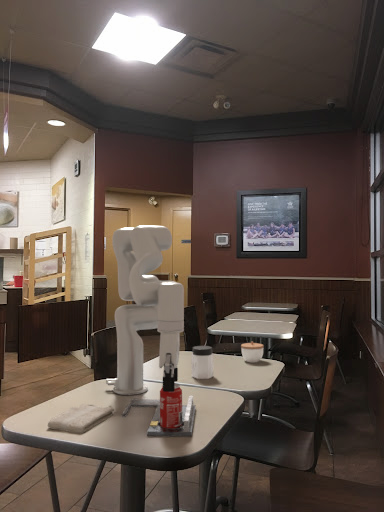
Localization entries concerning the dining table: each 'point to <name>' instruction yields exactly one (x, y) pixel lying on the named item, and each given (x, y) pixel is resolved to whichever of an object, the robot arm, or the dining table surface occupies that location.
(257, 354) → the lidded jar
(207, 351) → the jar
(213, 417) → the dining table surface
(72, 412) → the washcloth
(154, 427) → the rack
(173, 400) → the beverage can
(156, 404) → the grey flat l-shaped piece
